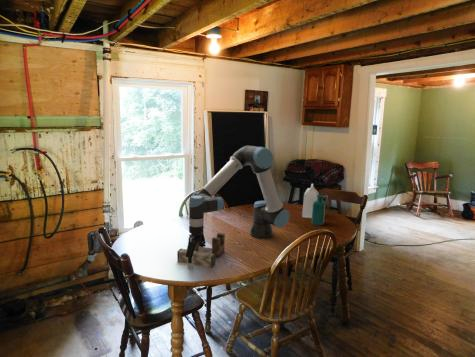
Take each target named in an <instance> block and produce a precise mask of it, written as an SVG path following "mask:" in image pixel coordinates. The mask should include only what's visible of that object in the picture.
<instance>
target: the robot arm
mask: <svg viewBox="0 0 475 357" xmlns="http://www.w3.org/2000/svg"><path fill="white" fill-rule="evenodd" d="M273 161H274V155H273V153H272V151H271V150H270V149H268V147H264V146H257V145H256V146H255V145H244V146H242V147H241V148H239V149H238V150H236V151H235V152H234V153H233V154H232V155H231V156H230V157H229V161H227V162H226V164H225V165H224V166H223V167H222V168H220V170H219V171H218V172H217V173H216V174H215V175H214V176H212V178H211V179H210V180H209V181H208V182H207V183H206V184H205V185H204V186H203V187H202V188H201V189H200V190H199V191H194V192H193V193H192V194H191V196H190V197H189V202H188V206H189V207H188V208H189V209H188V215H189V217H188V222H189V224H188V225H189V226H188V230H189V231H188V232H189V233H190V234H192V237H191V238H190V237H188V240H187V241H188V243H187V247H186V250H187V252H186V257H188V264H187V269H189V270H190V269H192V270H193V269H194V265H193V253H194V249H195V246H196V245H197V242H198V244H199V252H204V247H206V239H205V234H204V227H205V226H204V224H205V222H204V220H205V218H204V215H205V214H207V213H212V212H218V211H222V210H223V209H224V206H225V202H224V199H223V197H221V196H215V194H216V193H218V191H219V190H220V189H221V188H222V187H223V186H224V185H225V184H226V183H227V182H228V181H229V180H230V179H231V178H232V177H233V176H234V175H235V174H236V173H237V172H238V171H239V170H242V169H243V168H244V167H245V166H250V168H251V170H252V172H253V173H254V174H255V175H256V178H257V181H258V184H259V187H260V190H261V193H262V196H263V199H264V200H257V201H255V202H254V204H253V218H252V219H253V221H252V222H253V223H252V225H251V228H250V232H249V233H250V236H251V237H253V238H257V239H269V238H272V237H273V235H274V232H273V228H272V226H274V227H278V228H283V227H285V226H286V225H287V224H288V222H289V220H290V211H289V210H288V209H285V207H284V204H283V202H282V201H280V199H279V198H280V197H279V195H278V192H277V188H276V185H275V181H274V179H273V175H272V170H271V168H272V164H273V163H274V162H273Z"/></svg>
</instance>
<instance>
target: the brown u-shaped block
mask: <svg viewBox="0 0 475 357" xmlns="http://www.w3.org/2000/svg"><path fill="white" fill-rule="evenodd" d="M225 234H226V233H222V232H217V234H216V237H215V236H213V237H211V247H206V246H205V247H204V246H203V247H204V252H205V253H212V254H215V259H216V258H217V259H219V258H220V257H221V256H222V255H223V254H224V253H225V241H226V240H225V236H226V235H225ZM189 237H190V238H191V237H192V234H191V233H190V234H189ZM189 237H188V238H189ZM194 251H199V244H198V242H197V245H196V246H195V249H194Z"/></svg>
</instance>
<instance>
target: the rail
mask: <svg viewBox="0 0 475 357" xmlns="http://www.w3.org/2000/svg"><path fill="white" fill-rule="evenodd" d="M176 252H177V254H176V255H177V263H182V264H187V265H188V257H186V252H187V248H180V249H178V250H177V251H176ZM194 265H195V266H200V267H207V268H211V269H213V267H215V265H216V258H215V254H212V253H205V252H199V251H194V253H193V266H194Z"/></svg>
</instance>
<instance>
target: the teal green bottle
mask: <svg viewBox="0 0 475 357" xmlns="http://www.w3.org/2000/svg"><path fill="white" fill-rule="evenodd" d="M316 196H317V200H316V201H314V203H313V210H312V218H311V225H314V226H320V225H322V226H323V225H324V223H325V217H326V216H325V213H326V204H327V202H328V198H329V195H327V194H326V195H321V194H319V195H316ZM323 199H325V200H323Z"/></svg>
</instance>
